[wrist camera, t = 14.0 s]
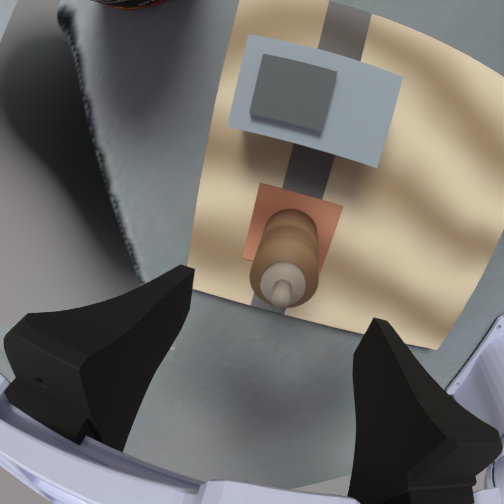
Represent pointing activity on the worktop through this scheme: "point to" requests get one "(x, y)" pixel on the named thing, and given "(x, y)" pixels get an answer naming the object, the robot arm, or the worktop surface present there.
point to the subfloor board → (362, 181)
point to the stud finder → (314, 99)
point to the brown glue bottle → (286, 260)
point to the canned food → (129, 3)
